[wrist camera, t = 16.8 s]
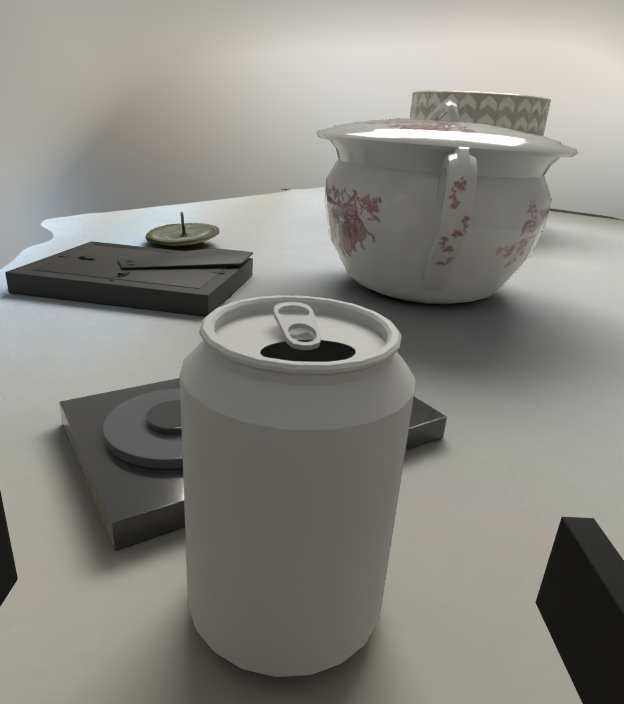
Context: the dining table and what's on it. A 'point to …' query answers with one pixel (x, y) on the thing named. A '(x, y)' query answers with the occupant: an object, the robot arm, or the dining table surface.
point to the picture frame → (137, 277)
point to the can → (291, 478)
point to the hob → (155, 455)
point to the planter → (486, 109)
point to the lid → (182, 233)
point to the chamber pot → (437, 204)
